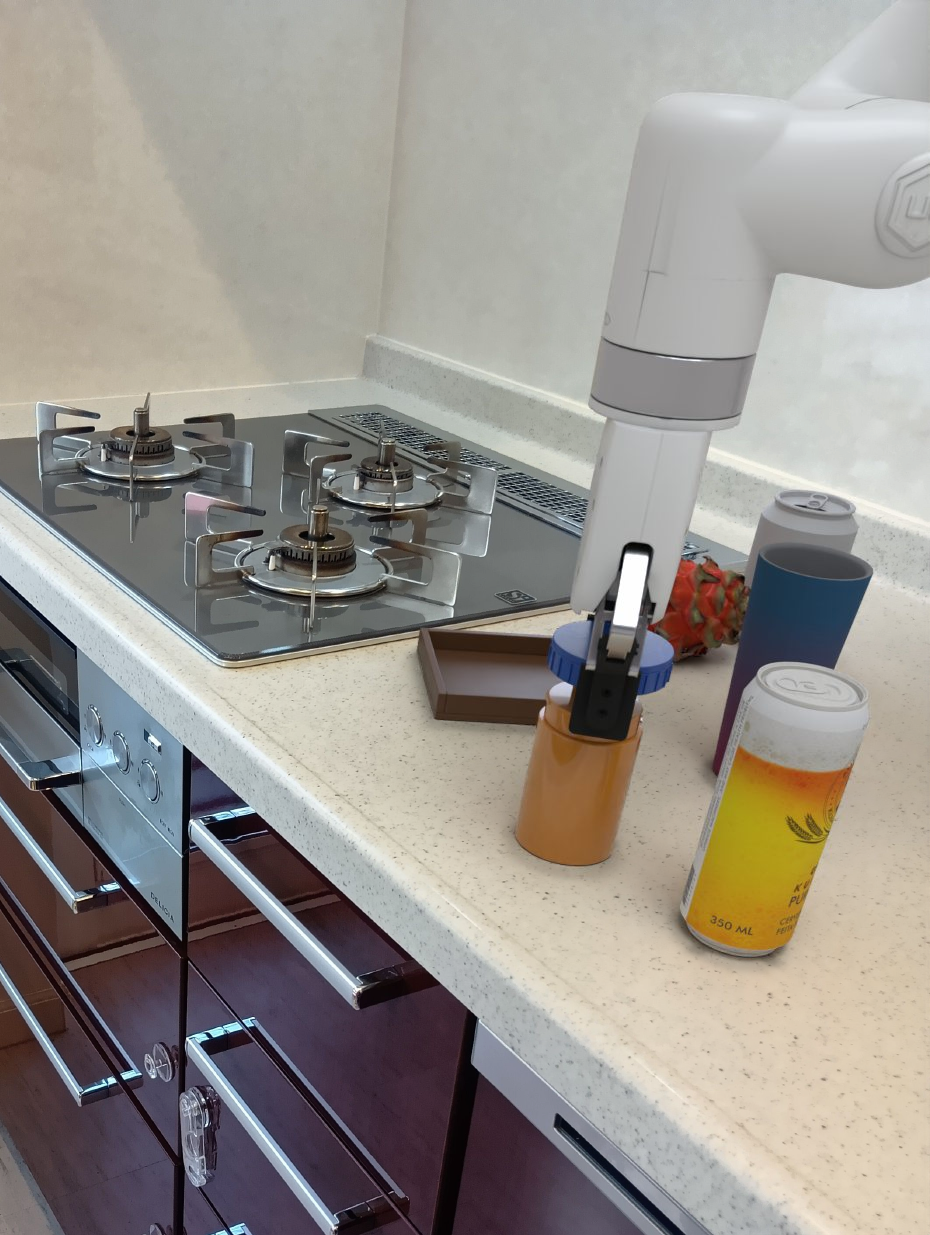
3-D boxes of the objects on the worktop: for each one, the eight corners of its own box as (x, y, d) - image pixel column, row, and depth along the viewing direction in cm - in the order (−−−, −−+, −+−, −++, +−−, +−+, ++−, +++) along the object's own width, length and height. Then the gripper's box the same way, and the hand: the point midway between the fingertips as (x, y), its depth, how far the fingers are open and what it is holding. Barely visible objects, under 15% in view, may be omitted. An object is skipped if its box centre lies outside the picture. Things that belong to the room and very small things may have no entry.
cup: (708, 741, 93) (767, 535, 84) (807, 766, 90) (878, 556, 82) (690, 780, 88) (751, 564, 79) (794, 808, 85) (869, 588, 77)
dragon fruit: (749, 678, 107) (601, 689, 107) (732, 589, 110) (588, 600, 110) (781, 622, 99) (621, 634, 100) (761, 528, 102) (606, 540, 102)
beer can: (797, 970, 70) (890, 717, 62) (681, 953, 71) (758, 700, 62) (779, 908, 75) (863, 667, 67) (672, 893, 76) (741, 652, 67)
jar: (601, 817, 83) (634, 681, 77) (623, 868, 78) (660, 726, 72) (507, 812, 82) (534, 675, 77) (523, 863, 77) (553, 720, 72)
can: (715, 640, 109) (755, 497, 103) (743, 616, 114) (782, 478, 108) (805, 666, 106) (852, 520, 99) (829, 639, 111) (875, 499, 104)
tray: (593, 661, 104) (598, 638, 103) (630, 730, 94) (637, 705, 92) (416, 651, 103) (419, 627, 102) (434, 719, 93) (438, 693, 92)
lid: (558, 693, 71) (564, 664, 70) (537, 644, 77) (542, 617, 76) (682, 700, 71) (689, 671, 70) (652, 650, 77) (658, 623, 76)
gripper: (600, 343, 73) (545, 642, 83) (584, 413, 59) (520, 764, 69) (739, 357, 72) (666, 660, 81) (757, 433, 57) (666, 788, 67)
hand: (600, 705), depth 75 cm, fingers closed on lid, 6 cm apart
